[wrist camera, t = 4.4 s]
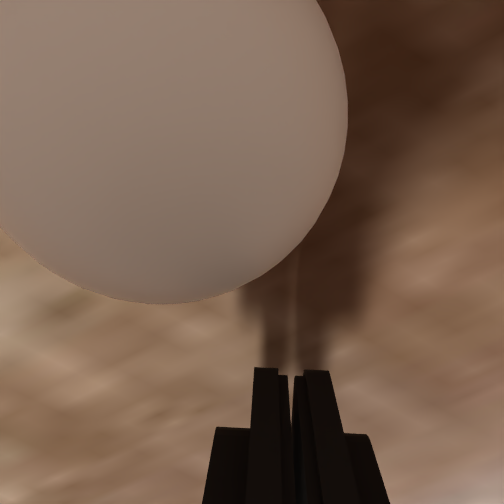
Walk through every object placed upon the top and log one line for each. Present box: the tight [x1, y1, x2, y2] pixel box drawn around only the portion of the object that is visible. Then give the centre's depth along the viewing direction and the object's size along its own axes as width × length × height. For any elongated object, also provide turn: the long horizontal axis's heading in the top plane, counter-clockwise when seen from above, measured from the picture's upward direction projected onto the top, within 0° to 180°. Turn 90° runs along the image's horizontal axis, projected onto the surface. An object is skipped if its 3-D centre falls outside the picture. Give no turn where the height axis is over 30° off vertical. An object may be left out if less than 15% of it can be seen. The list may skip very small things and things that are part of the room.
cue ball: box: [0, 0, 348, 304], centre depth 7 cm, size 6×6×6 cm
